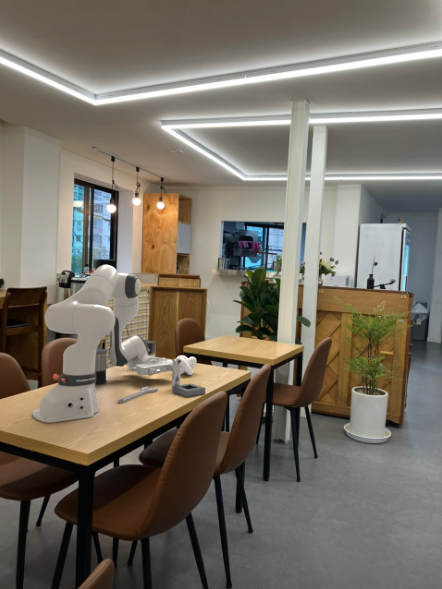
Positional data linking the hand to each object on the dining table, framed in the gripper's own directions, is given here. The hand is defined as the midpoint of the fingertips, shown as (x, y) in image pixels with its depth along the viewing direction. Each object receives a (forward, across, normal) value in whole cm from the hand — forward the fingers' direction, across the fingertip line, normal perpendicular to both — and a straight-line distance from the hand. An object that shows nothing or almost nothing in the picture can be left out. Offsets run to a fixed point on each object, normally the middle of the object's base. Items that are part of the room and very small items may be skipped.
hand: (166, 370), depth 209 cm
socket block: (+16, 0, +7) cm, 17 cm away
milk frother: (-26, -24, +7) cm, 37 cm away
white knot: (-13, +21, +7) cm, 26 cm away
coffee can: (-38, +14, +7) cm, 41 cm away
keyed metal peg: (+7, 0, +7) cm, 10 cm away
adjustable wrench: (+6, -20, +8) cm, 22 cm away
